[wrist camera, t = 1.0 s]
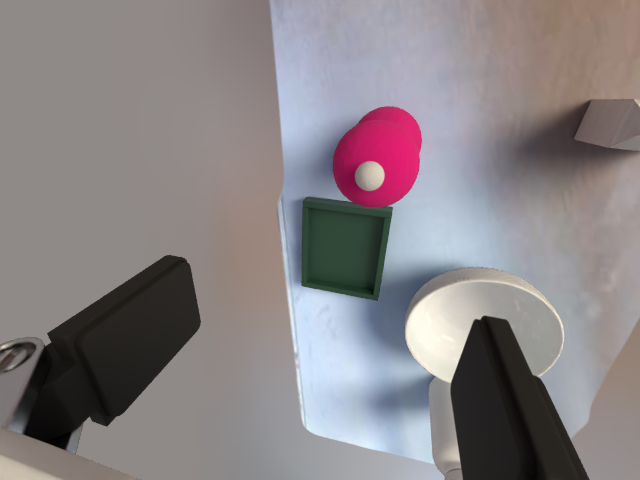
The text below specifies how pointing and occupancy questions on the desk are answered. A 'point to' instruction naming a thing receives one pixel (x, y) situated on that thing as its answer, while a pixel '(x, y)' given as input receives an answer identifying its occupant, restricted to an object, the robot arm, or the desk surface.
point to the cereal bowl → (472, 303)
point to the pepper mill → (378, 158)
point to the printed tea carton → (611, 124)
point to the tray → (344, 246)
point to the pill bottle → (443, 430)
